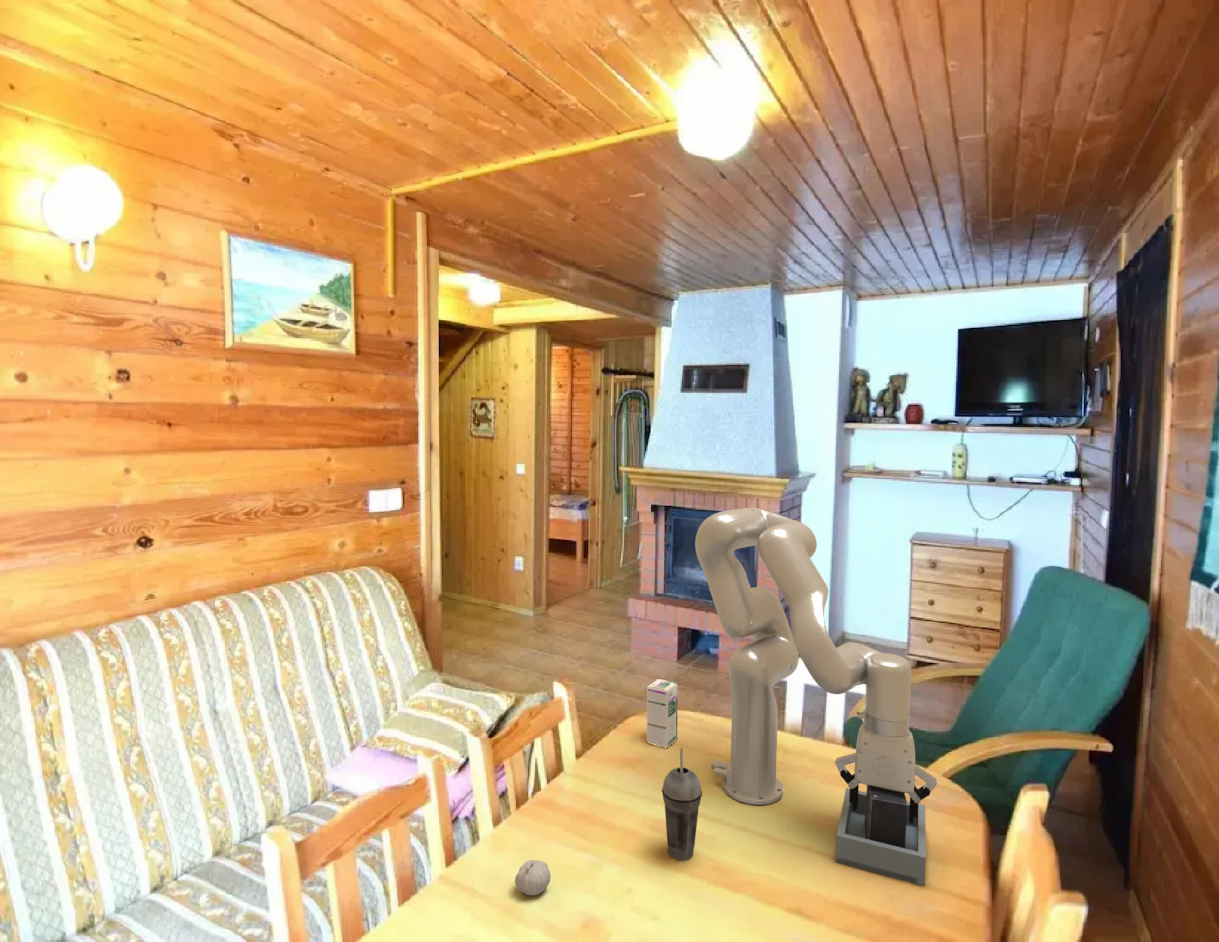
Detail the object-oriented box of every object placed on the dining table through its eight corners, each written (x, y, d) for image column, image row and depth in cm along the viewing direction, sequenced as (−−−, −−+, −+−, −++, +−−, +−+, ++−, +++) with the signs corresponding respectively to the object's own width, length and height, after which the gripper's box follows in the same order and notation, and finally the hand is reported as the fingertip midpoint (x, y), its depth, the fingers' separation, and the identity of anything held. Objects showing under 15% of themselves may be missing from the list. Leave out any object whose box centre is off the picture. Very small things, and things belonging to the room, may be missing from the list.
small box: (906, 861, 119) (909, 804, 118) (867, 854, 121) (869, 798, 120) (899, 827, 129) (902, 774, 128) (863, 821, 131) (865, 769, 130)
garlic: (525, 907, 108) (525, 876, 108) (509, 888, 113) (509, 858, 112) (557, 892, 112) (557, 862, 112) (540, 874, 116) (540, 845, 116)
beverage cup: (704, 845, 125) (706, 740, 124) (696, 869, 118) (698, 758, 117) (666, 836, 127) (668, 733, 126) (656, 860, 120) (658, 751, 119)
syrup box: (667, 749, 162) (668, 690, 161) (645, 743, 164) (646, 685, 164) (677, 740, 166) (678, 682, 165) (656, 734, 169) (657, 677, 168)
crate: (835, 862, 120) (836, 835, 120) (845, 811, 136) (846, 787, 136) (924, 885, 114) (926, 857, 114) (924, 830, 130) (925, 805, 130)
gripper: (834, 722, 124) (831, 811, 125) (939, 741, 117) (935, 836, 118) (839, 706, 131) (836, 792, 132) (938, 724, 123) (934, 814, 125)
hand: (882, 812), depth 125 cm, fingers open, 9 cm apart
